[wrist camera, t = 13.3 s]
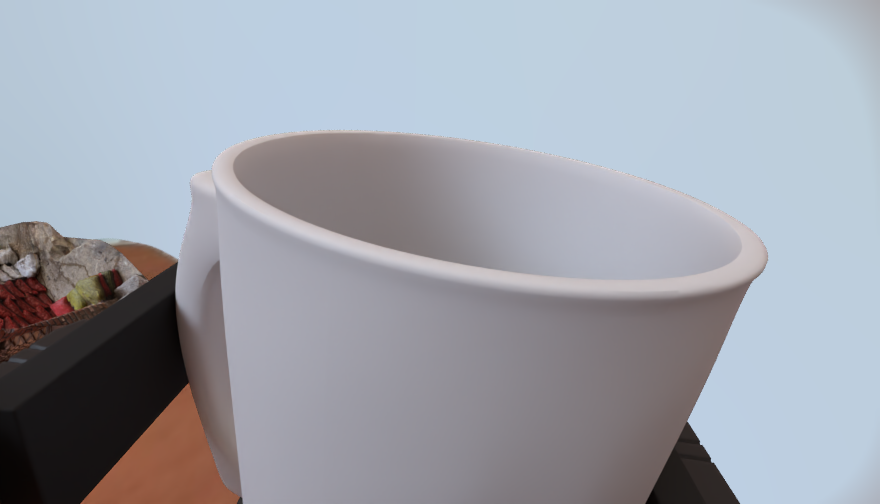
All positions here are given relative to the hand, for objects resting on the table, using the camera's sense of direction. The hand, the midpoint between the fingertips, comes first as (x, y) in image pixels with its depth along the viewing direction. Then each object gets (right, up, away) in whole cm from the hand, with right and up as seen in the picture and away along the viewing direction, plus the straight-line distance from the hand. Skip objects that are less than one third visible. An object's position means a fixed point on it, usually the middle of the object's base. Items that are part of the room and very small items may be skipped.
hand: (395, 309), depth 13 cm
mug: (-1, -8, -1) cm, 8 cm away
